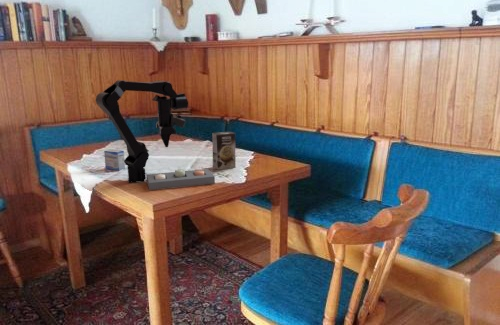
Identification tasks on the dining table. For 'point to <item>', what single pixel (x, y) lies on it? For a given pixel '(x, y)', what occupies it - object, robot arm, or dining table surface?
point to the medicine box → (114, 159)
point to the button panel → (180, 180)
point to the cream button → (159, 176)
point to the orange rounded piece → (199, 173)
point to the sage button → (179, 173)
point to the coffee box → (223, 150)
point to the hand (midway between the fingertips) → (166, 146)
